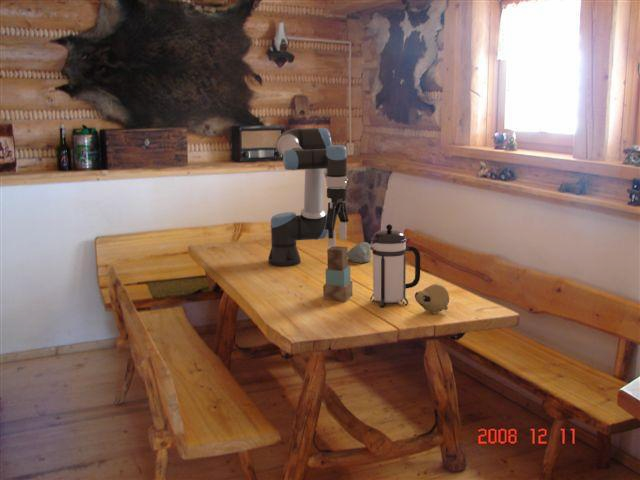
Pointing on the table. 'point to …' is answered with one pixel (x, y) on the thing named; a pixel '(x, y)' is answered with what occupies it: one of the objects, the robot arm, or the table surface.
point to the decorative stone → (360, 253)
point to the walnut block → (337, 258)
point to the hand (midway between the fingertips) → (337, 242)
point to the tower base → (337, 292)
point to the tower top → (338, 277)
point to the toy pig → (433, 298)
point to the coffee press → (391, 266)
